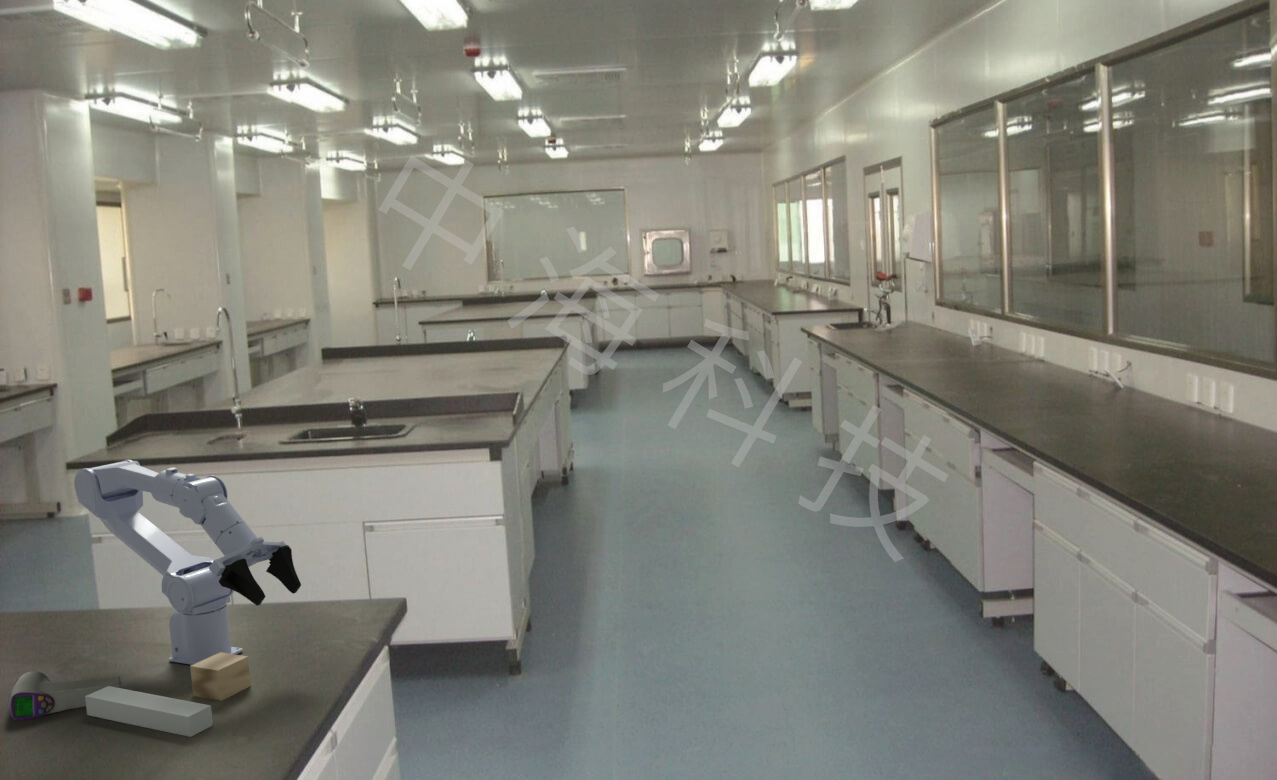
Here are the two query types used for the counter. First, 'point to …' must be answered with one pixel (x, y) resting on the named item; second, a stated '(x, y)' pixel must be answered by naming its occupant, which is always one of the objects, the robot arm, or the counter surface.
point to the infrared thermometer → (52, 694)
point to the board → (149, 711)
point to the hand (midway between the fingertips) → (279, 595)
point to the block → (220, 676)
